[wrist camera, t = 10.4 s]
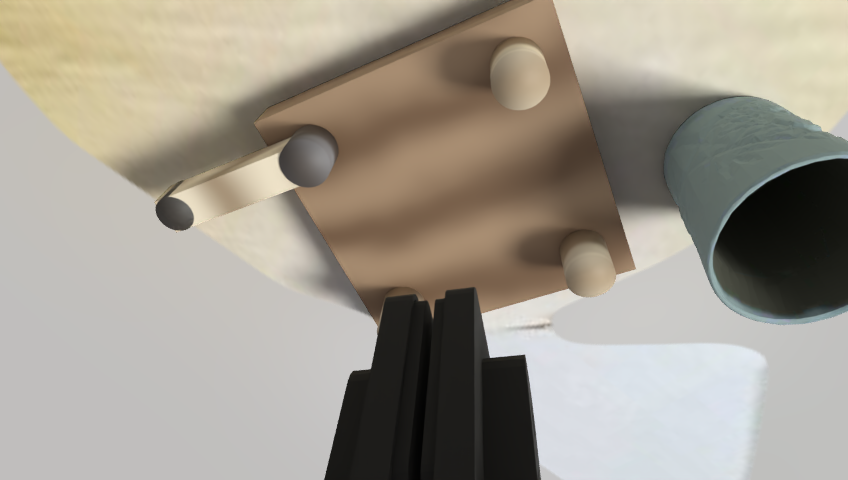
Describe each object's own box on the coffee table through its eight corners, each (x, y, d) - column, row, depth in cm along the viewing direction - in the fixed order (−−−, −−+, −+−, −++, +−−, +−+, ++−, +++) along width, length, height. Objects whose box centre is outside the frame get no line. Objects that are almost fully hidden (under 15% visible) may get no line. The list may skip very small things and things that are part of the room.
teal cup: (686, 240, 43) (750, 351, 33) (623, 136, 39) (673, 225, 29) (830, 170, 39) (952, 271, 29) (776, 46, 35) (895, 113, 25)
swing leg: (324, 117, 37) (314, 132, 35) (346, 160, 38) (338, 177, 36) (162, 183, 40) (144, 201, 38) (189, 220, 42) (172, 239, 40)
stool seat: (267, 107, 40) (234, 144, 35) (545, -15, 35) (557, 4, 29) (391, 316, 49) (380, 371, 44) (626, 246, 44) (647, 299, 38)
